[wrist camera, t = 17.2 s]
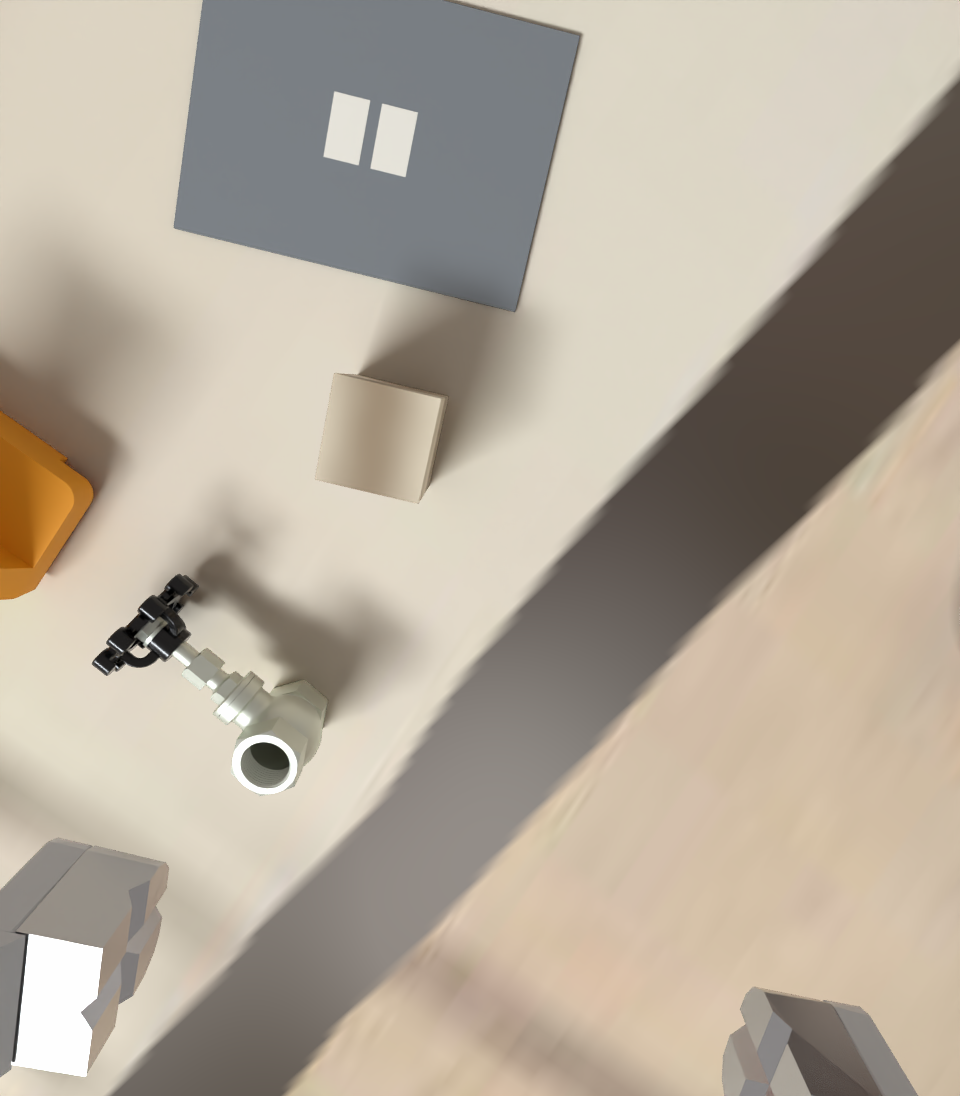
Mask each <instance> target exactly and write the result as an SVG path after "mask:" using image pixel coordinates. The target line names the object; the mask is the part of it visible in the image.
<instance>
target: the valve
mask: <svg viewBox="0 0 960 1096" xmlns="http://www.w3.org/2000/svg"><path fill="white" fill-rule="evenodd" d="M198 587H199V585H197V584H196V583H195V582H194V581H193V580H191V579H190V578H189V577H188V576H187V575H184V576H182V575H181V574H177V575H176V576H175V577H174V578H172V579H171V580H170V581H169V583H168V584H167V585H166V586H165V588H164V589H165V590H164V591H163V592H162V593H161V594H160V595H159V596H158V597H156V596H155V595H152V596H150V597H149V598H148V599H147V600H145V601H144V602H143V603H142V605H141V606H140V607H139V608H138V610H137V611H138V613H139V614H138V615H137V616H136V617H135V618H134V619H133V620H132V621H131V622H130V623H129V624H128V625H127V626H126V627H121V628H119V629H118V630H117V631H116V632H115V633H113V634H112V635H111V637H110V638H109V639H108V640H107V642H106V644H107V645H108V646H109V648H106V649H105V650H103V651H102V652H101V653H100V654H99V655H98V656H97V657H96V658H95V659H94V661H93V662H92V665H93V666H94V667H96V668H97V669H98V670H99V671H101V672H102V673H103V674H104V675H106V676H108V675H109V674H111V673H112V672H113V671H114V670H115V671H116V672H118V671H119V670H120V669H122V668H123V667H124V666H125V665H126V664H127V665H129V666H132V667H136V668H142V667H147V666H150V665H152V664H153V663H155V662H156V661H157V660H158V659H159V658H160V659H161V660H162V661H163V662H166V661H168V660H169V659H170V658H171V657H172V656H173V657H174V658H175V659H177V660H178V661H179V662H180V663H182V664H183V665H184V666H185V667H187V668H186V669H185V670H184V671H183V673H182V676H183V677H184V678H186V679H187V680H188V681H189V682H191V683H192V684H193V685H194V686H195V687H197V688H198V689H199V690H201V689H202V688H203V687H204V686H205V685H206V686H207V687H209V688H210V689H211V690H212V691H213V695H212V696H211V700H213V701H214V702H215V703H216V704H218V707H217V708H216V710H215V711H214V712H213V715H214V716H216V717H217V718H218V719H219V720H221V721H222V722H223V723H224V724H225V725H228V724H229V723H230V722H233V723H235V724H236V725H237V726H238V727H240V728H241V729H242V731H243V732H242V733H241V734H240V736H239V737H238V739H237V741H236V745H235V749H234V755H233V761H232V769H231V773H232V774H233V775H234V777H235V778H236V779H237V780H239V781H240V782H241V783H242V784H243V785H244V786H245V787H247V788H248V789H250V790H251V791H253V792H254V793H256V794H258V795H259V796H262V795H268V794H273V793H277V792H280V791H283V790H286V789H289V788H292V787H294V786H295V784H296V782H297V780H298V778H299V776H300V774H301V772H302V768H303V766H305V765H306V764H307V763H308V762H309V761H310V760H311V759H312V758H313V757H314V755H315V754H316V752H317V750H318V748H319V746H320V742H321V738H322V729H323V724H324V719H325V714H326V709H327V704H328V700H327V698H325V697H324V696H323V695H322V694H321V693H319V692H318V691H317V690H316V689H315V688H313V687H312V686H311V685H310V684H309V683H307V682H306V681H305V680H300V681H297V682H293V683H290V684H286V685H283V686H279V687H276V688H273V690H272V691H271V693H270V694H269V693H268V692H266V691H265V690H264V689H263V688H262V686H263V684H264V681H263V680H262V679H261V678H259V677H258V676H257V675H256V674H255V673H253V672H252V671H250V672H249V673H248V674H247V675H246V676H245V677H242V676H241V675H240V674H239V673H237V672H236V671H235V672H233V673H232V674H227V673H226V672H225V671H223V670H222V669H221V667H222V666H223V665H224V664H225V662H224V661H223V660H222V659H220V658H219V657H218V656H217V655H215V654H214V653H213V652H212V651H211V650H209V649H208V648H206V649H204V650H203V651H202V652H201V653H199V652H198V651H197V650H195V649H194V648H193V647H192V646H190V645H189V644H188V643H187V642H186V641H187V640H188V639H189V638H190V636H191V633H190V632H189V631H187V630H186V626H185V623H184V622H183V620H182V619H181V618H180V617H179V615H178V613H179V612H180V611H181V610H182V608H183V607H184V605H183V604H181V603H180V602H179V600H180V599H181V597H182V596H183V595H185V594H187V595H188V596H191V595H192V594H193V593H194V592H195V591H196V590H197V589H198ZM137 645H138V646H140V647H141V648H142V649H143V648H145V647H146V648H147V649H149V650H150V651H151V652H150V653H149V654H148V655H147V656H145V657H144V658H137V657H135V656H134V655H133V654H131V653H130V651H131V650H133V649H134V648H135V647H136V646H137Z"/></svg>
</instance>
